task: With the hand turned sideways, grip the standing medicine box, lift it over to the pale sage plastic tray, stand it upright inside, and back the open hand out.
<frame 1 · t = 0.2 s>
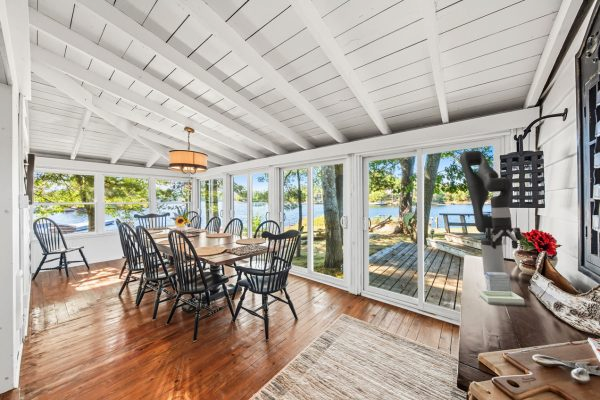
hand: (504, 248, 118), 17 cm above the table, tool pointing down, fingers open, 8 cm apart
tray: (500, 300, 99), on the table
medicine box: (498, 292, 107), on the table
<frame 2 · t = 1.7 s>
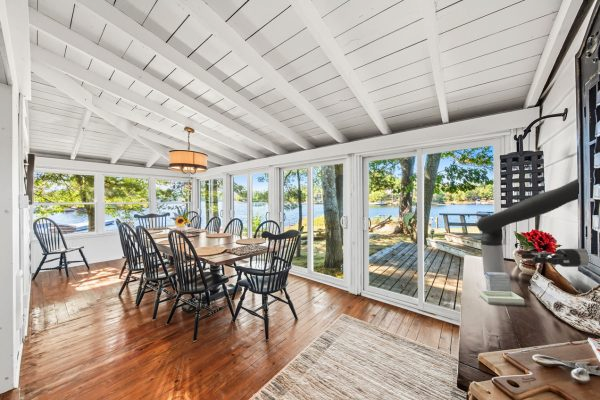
hand: (527, 258, 104), 16 cm above the table, tool horizontal, fingers open, 8 cm apart
nothing on the table moved.
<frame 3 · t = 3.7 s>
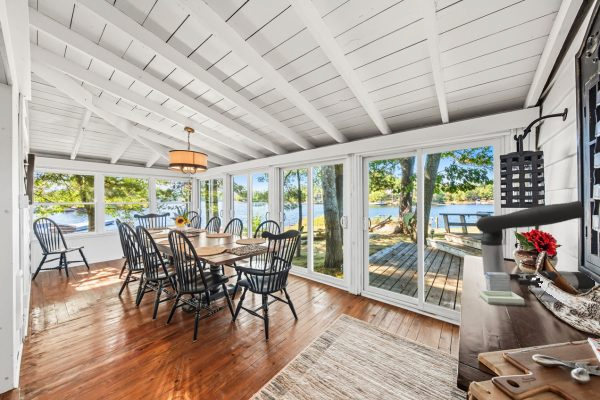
hand: (512, 279, 106), 6 cm above the table, tool horizontal, fingers open, 8 cm apart
nothing on the table moved.
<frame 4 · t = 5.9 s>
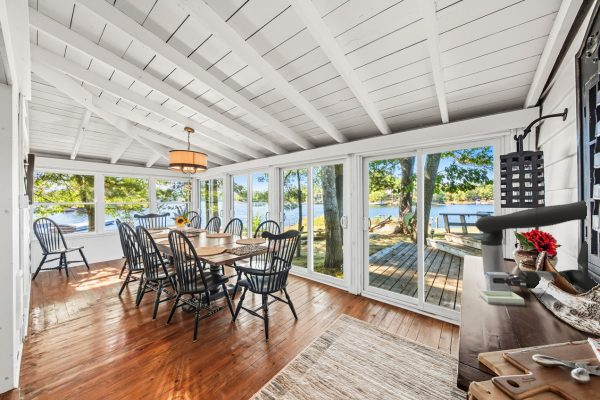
hand: (490, 278, 108), 6 cm above the table, tool horizontal, fingers closed on medicine box, 4 cm apart
medicine box: (498, 292, 107), on the table, touching gripper
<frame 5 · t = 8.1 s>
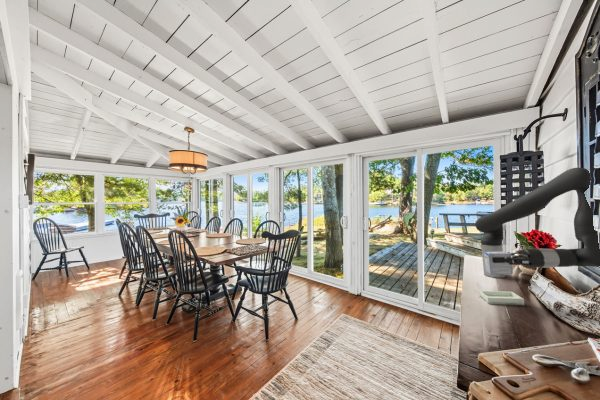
hand: (489, 258, 100), 18 cm above the table, tool horizontal, fingers closed on medicine box, 4 cm apart
medicine box: (499, 273, 99), point 11 cm above the table, touching gripper
when the fingers open (8 cm above the table, at t = 10.4 s): medicine box stays where it is, resting on tray.
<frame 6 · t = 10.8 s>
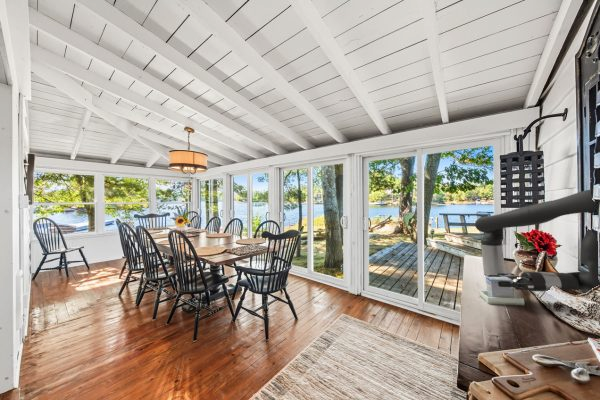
hand: (493, 280, 99), 8 cm above the table, tool horizontal, fingers open, 8 cm apart
medicine box: (501, 299, 98), point 1 cm above the table, touching tray
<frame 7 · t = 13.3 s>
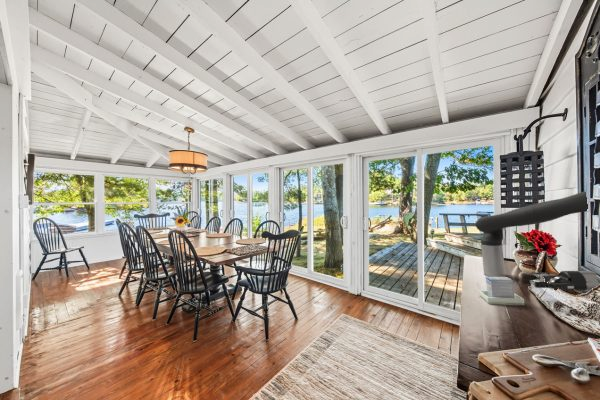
hand: (528, 280, 96), 8 cm above the table, tool horizontal, fingers open, 8 cm apart
nothing on the table moved.
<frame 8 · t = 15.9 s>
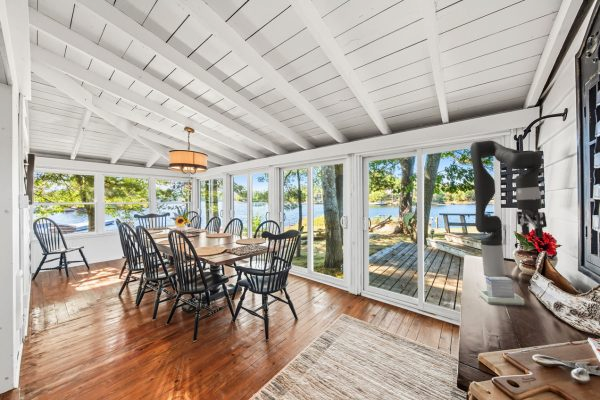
hand: (532, 236, 100), 26 cm above the table, tool pointing down, fingers open, 8 cm apart
nothing on the table moved.
at the end: medicine box inside the target area on the tray (0.2 cm from its centre), point 0.6 cm above the tray's base; medicine box tilted 0°; the gripper is holding nothing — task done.
